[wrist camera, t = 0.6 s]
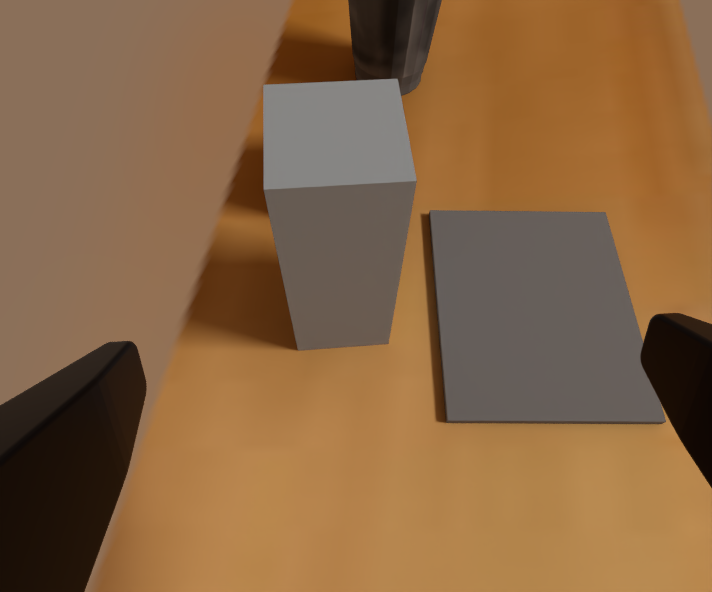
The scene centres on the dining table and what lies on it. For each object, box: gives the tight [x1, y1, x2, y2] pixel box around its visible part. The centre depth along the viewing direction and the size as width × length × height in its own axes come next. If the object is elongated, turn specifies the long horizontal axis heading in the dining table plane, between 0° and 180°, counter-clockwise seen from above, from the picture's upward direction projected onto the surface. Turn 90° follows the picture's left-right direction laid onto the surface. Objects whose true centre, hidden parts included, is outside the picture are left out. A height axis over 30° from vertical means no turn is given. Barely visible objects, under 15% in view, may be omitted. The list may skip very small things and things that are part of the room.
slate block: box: [264, 79, 417, 350], centre depth 22 cm, size 4×4×12 cm
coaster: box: [429, 210, 666, 424], centre depth 27 cm, size 12×10×1 cm
